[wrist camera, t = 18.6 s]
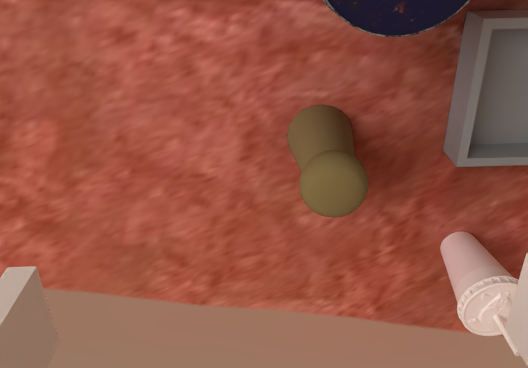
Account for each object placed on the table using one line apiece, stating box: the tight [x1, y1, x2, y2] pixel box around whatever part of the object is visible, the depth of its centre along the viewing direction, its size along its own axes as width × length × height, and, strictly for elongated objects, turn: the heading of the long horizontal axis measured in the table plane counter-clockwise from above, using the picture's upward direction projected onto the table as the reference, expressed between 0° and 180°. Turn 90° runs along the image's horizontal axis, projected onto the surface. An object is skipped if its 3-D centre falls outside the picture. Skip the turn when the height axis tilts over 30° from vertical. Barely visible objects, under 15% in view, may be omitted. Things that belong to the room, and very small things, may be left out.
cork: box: [287, 105, 368, 217], centre depth 41 cm, size 6×6×11 cm
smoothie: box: [440, 231, 520, 356], centre depth 46 cm, size 6×6×14 cm
